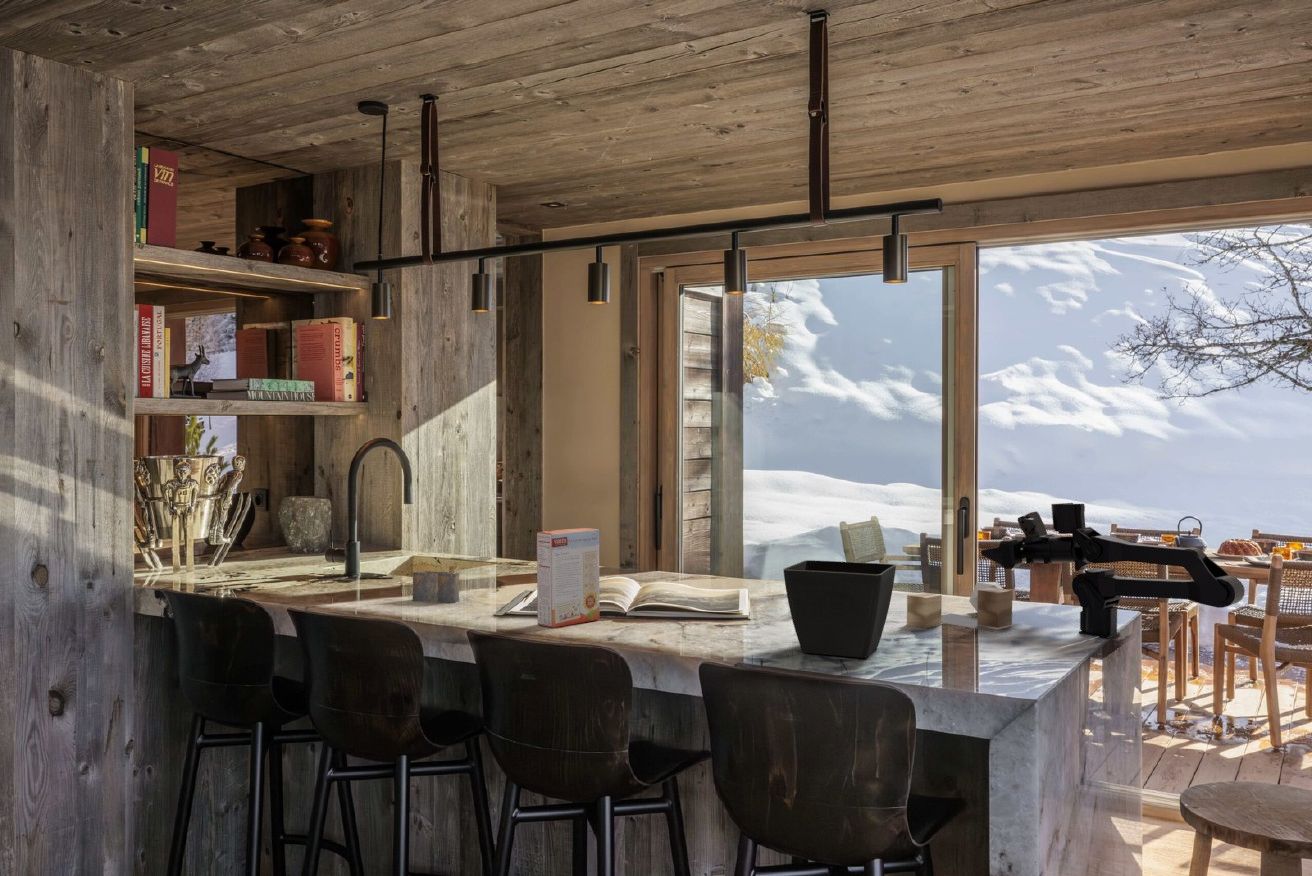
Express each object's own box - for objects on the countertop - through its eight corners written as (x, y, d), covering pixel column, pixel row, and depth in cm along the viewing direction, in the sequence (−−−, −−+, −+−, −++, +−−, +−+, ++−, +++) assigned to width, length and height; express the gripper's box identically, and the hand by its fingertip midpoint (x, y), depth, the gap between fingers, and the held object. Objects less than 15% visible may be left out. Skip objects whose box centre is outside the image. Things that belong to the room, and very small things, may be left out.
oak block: (941, 626, 226) (941, 595, 226) (926, 629, 222) (926, 597, 222) (922, 622, 229) (922, 592, 229) (906, 626, 225) (907, 595, 225)
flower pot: (805, 637, 212) (805, 557, 212) (896, 645, 205) (896, 563, 204) (781, 655, 194) (781, 568, 194) (879, 665, 187) (880, 574, 187)
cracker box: (583, 617, 233) (584, 526, 233) (600, 620, 229) (601, 528, 228) (535, 624, 223) (535, 530, 223) (552, 628, 219) (552, 532, 219)
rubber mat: (1020, 626, 226) (1020, 624, 226) (992, 632, 218) (992, 631, 218) (950, 614, 240) (950, 613, 240) (921, 620, 232) (921, 619, 232)
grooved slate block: (459, 602, 253) (459, 564, 253) (454, 604, 250) (455, 565, 250) (417, 600, 256) (418, 562, 256) (412, 602, 253) (412, 564, 253)
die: (1002, 622, 234) (1020, 588, 237) (969, 603, 235) (987, 569, 238) (991, 628, 241) (1008, 595, 244) (959, 609, 243) (976, 576, 246)
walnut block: (1011, 626, 225) (1012, 590, 225) (997, 629, 221) (998, 593, 221) (991, 622, 228) (991, 587, 228) (977, 625, 224) (977, 590, 224)
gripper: (1070, 509, 230) (1006, 511, 242) (1033, 518, 217) (967, 520, 229) (1075, 557, 230) (1011, 557, 241) (1038, 569, 217) (972, 568, 228)
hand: (991, 549), depth 235 cm, fingers open, 9 cm apart
